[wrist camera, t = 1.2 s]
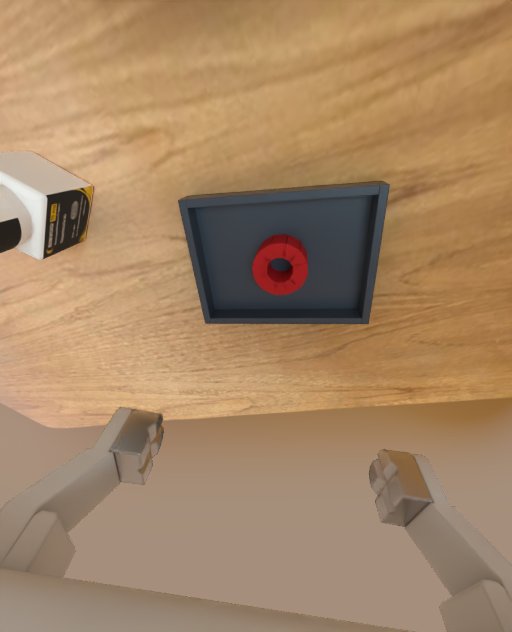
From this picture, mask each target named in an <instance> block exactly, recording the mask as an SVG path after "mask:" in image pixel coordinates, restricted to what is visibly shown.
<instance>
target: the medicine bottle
mask: <svg viewBox="0 0 512 632" xmlns="http://www.w3.org/2000/svg"><path fill="white" fill-rule="evenodd" d="M92 194H93V186H92V185H91V184H89V183H87V182H85V181H84V180H82V179H80V178H78V177H76V176H75V175H73V174H71V173H69V172H67V171H66V170H64V169H62V168H60V167H59V166H57V165H55V164H53V163H51V162H50V161H48V160H46V159H44V158H42V157H41V156H39V155H37V154H35V153H33V152H31V151H17V152H0V253H2V252H4V251H7V250H10V249H13V248H16V249H18V250H20V251H22V252H24V253H26V254H28V255H30V256H32V257H34V258H36V259H38V260H42V259H45V258H47V257H49V256H51V255H54V254H56V253H58V252H60V251H62V250H65V249H67V248H69V247H71V246H73V245H76V244H78V243H80V242H82V241H84V240H85V237H86V231H87V225H88V219H89V213H90V207H91V201H92Z"/></svg>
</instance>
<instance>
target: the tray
mask: <svg viewBox="0 0 512 632" xmlns="http://www.w3.org/2000/svg"><path fill="white" fill-rule="evenodd" d="M389 186H390V184H387V183H385V182H383V181H372V182H359V183H347V184H334V185H321V186H308V187H295V188H282V189H269V190H256V191H243V192H231V193H218V194H205V195H192V196H186V197H184V198H182V199H180V200H178V203H179V207H180V212H181V216H182V221H183V225H184V230H185V234H186V239H187V243H188V248H189V252H190V257H191V261H192V266H193V270H194V275H195V279H196V284H197V288H198V293H199V297H200V302H201V306H202V311H203V315H204V320H205V323H206V324H211V323H212V324H369V318H370V311H371V304H372V298H373V291H374V285H375V278H376V271H377V265H378V258H379V252H380V245H381V239H382V232H383V225H384V219H385V212H386V206H387V199H388V193H389ZM280 234H287V236H288V235H290V236H292V237H294V238H296V239H298V240H300V241H301V243H302V244H303V246H304V248H305V249H306V251H307V257H308V275H307V278H306V280H305V282H304V283H303V285H302V286H301V287H299V289H298V290H296V291H294V292H292V293H290V294H288V293H287V295H275V294H271V293H269V292H267V291H265V290H263V289H262V288H261V287H260V286H259V285H258V283H257V282H256V281H255V279H254V277H253V268H252V265H253V261H254V259H255V256H256V254H257V251H258V249H259V247H260V245H261V243H262V242H263V241H265V240H266V239H268V238H269V237H271V236H272V235H273V236H274V235H280ZM300 241H299V242H300ZM270 264H271V266H272V267H273V268H274V269H276V270H278V271H286V270H288V269H289V268H291V266H292V265H291V263H290V261H288V260H286V259H284V258H275V259H273V260H272V261H270Z"/></svg>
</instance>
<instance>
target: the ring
mask: <svg viewBox="0 0 512 632" xmlns="http://www.w3.org/2000/svg"><path fill="white" fill-rule="evenodd" d="M299 241H300V240H298V239H296V238H294V237H292V236H290V235H288V236H287V234H280V235H274V236H273V235H272V236H271V237H269V238H268V239H266V240H265V241H263V242H262V243H261V245H260V247H259V249H258V251H257V254H256V256H255V259H254V261H253V265H252V268H253V277H254V279H255V281H256V282H257V283H258V285H259V286H260V287H261V288H262V289H263V290H265V291H267V292H269V293H271V294H275V295H287V293H288V294H290V293H292V292H294V291H296V290H298V289H299V287H301V286H302V285H303V283H304V282H305V280H306V278H307V275H308V257H307V251H306V249H305V248H304V246H303V244H302V243H301V241H300V242H299ZM275 258H284V259H286V260H288V261H290V263H291V265H292V266H291V268H289V269H288V270H286V271H278V270H276V269H274V268H273V267H272V266H271V264H270V261H272V260H273V259H275Z"/></svg>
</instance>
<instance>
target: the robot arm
mask: <svg viewBox="0 0 512 632" xmlns="http://www.w3.org/2000/svg"><path fill="white" fill-rule="evenodd" d="M162 421H163V416H162V414H160V413H154V412H148V411H142V410H137V409H132V408H125V407H120V408H119V409H117V410H116V412H115V413H114V415H113V416H112V418H111V420H110V421H109V423H108V424H107V426H106V428H105V429H104V431H103V433H102V434H101V436H100V437H99V439H98V440H97V442H96V444H95V445H94V447H93V448H92V449H91V448H88V449H86V450H85V451H83V452H82V453H80V454H79V455H77V456H75V457H74V458H72V459H71V460H69V461H68V462H67V463H65V464H64V465H62V466H60V467H59V468H57V469H56V470H55V471H53V472H52V473H50V474H48V475H47V476H45V477H44V478H43V479H41V480H40V481H38V482H36V483H35V484H34V485H32V486H30V487H29V488H28V489H26V490H25V491H23V492H22V493H20V494H19V495H17V496H16V497H14V498H13V499H11V500H9V501H8V502H7V503H6V504H5V505H4V506H3V507H2V509H1V510H0V632H415V631H408V630H402V629H395V628H389V627H382V626H375V625H369V624H362V623H356V622H349V621H342V620H337V619H330V618H324V617H317V616H311V615H304V614H298V613H291V612H285V611H278V610H271V609H265V608H258V607H252V606H245V605H239V604H232V603H226V602H219V601H213V600H206V599H200V598H193V597H187V596H180V595H174V594H167V593H161V592H154V591H147V590H141V589H134V588H128V587H121V586H115V585H108V584H102V583H95V582H88V581H82V580H76V579H69V578H63V577H64V575H65V572H66V570H67V568H68V566H69V564H70V562H71V560H72V558H73V556H74V554H75V552H76V550H75V546H74V544H73V542H72V540H71V538H70V537H69V535H68V532H69V531H70V530H71V529H72V528H73V527H75V526H76V525H77V524H78V523H79V522H80V521H81V520H82V519H83V518H84V517H85V516H86V515H87V514H88V513H89V512H90V511H91V510H93V509H94V508H95V507H96V506H97V505H98V504H99V503H100V502H101V501H102V500H103V499H104V498H105V497H106V496H108V495H109V494H110V493H111V492H112V491H113V490H114V489H115V488H116V487H117V486H118V485H119V484H120V482H124V483H133V484H140V485H145V483H146V481H147V478H148V476H149V474H150V471H151V469H152V466H153V464H152V458H153V457H154V456H155V455H157V454H158V451H159V449H160V446H161V442H162V439H163V432H164V431H163V427H162V425H161V423H162ZM378 457H379V459H376V460H374V461H373V462H372V464H371V466H370V470H369V478H370V484H371V487H372V489H373V490H374V491H375V492H376V494H377V498H376V500H375V503H376V506H377V510H378V514H379V517H380V521H381V522H382V523H387V524H392V525H397V526H403V527H405V530H406V531H407V532H408V534H409V535H410V537H411V538H412V540H413V541H414V543H415V544H416V545H417V547H418V548H419V550H420V551H421V553H422V554H423V555H424V557H425V558H426V560H427V561H428V563H429V564H430V565H431V567H432V568H433V570H434V571H435V573H436V574H437V575H438V577H439V578H440V580H441V581H442V583H443V584H444V586H445V587H446V588H447V590H448V591H449V592H450V594H451V595H452V597H451V598H449V599H447V600H446V601H443V602H442V603H441V604H440V606H439V608H440V612H441V615H442V618H443V621H444V624H445V627H446V630H447V632H512V564H511V563H510V562H509V561H508V560H507V559H506V558H505V557H504V556H503V555H502V554H501V553H500V552H499V551H498V550H497V549H496V548H495V547H494V546H493V545H492V544H491V543H490V542H489V541H488V540H487V539H486V538H485V537H484V536H483V535H482V534H481V533H480V532H479V531H478V530H477V529H476V528H475V527H474V526H473V525H472V524H471V523H470V522H469V521H468V520H467V519H466V518H465V517H464V515H462V513H461V512H460V511H459V510H458V509H457V508H456V507H455V506H450V504H449V502H448V500H447V498H446V496H445V494H444V491H443V489H442V487H441V485H440V483H439V481H438V479H437V477H436V475H435V473H434V470H433V468H432V466H431V464H430V462H429V460H428V459H427V458H426V457H425V456H423V455H418V454H410V453H407V452H400V451H392V450H385V449H383V450H380V452H379V453H378Z"/></svg>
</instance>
